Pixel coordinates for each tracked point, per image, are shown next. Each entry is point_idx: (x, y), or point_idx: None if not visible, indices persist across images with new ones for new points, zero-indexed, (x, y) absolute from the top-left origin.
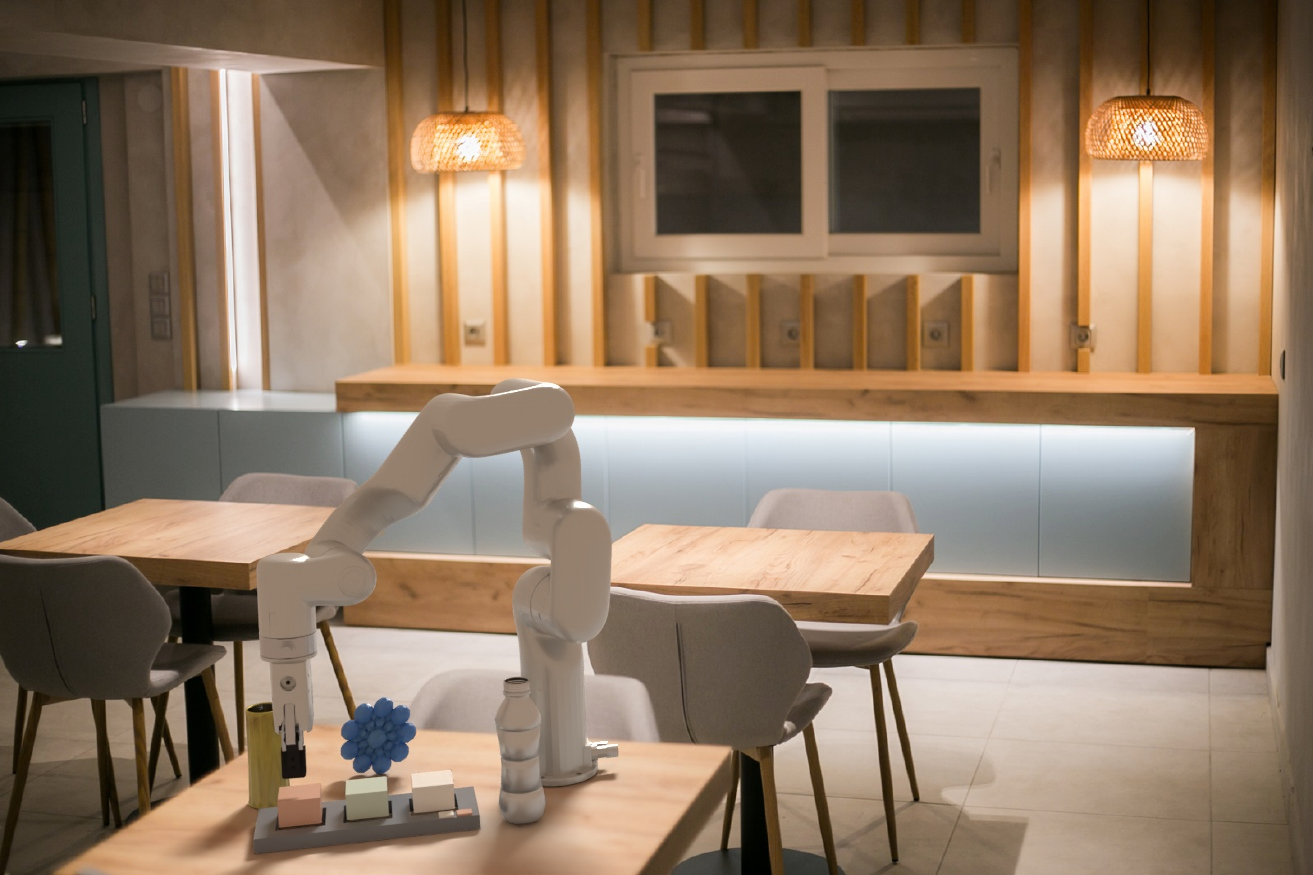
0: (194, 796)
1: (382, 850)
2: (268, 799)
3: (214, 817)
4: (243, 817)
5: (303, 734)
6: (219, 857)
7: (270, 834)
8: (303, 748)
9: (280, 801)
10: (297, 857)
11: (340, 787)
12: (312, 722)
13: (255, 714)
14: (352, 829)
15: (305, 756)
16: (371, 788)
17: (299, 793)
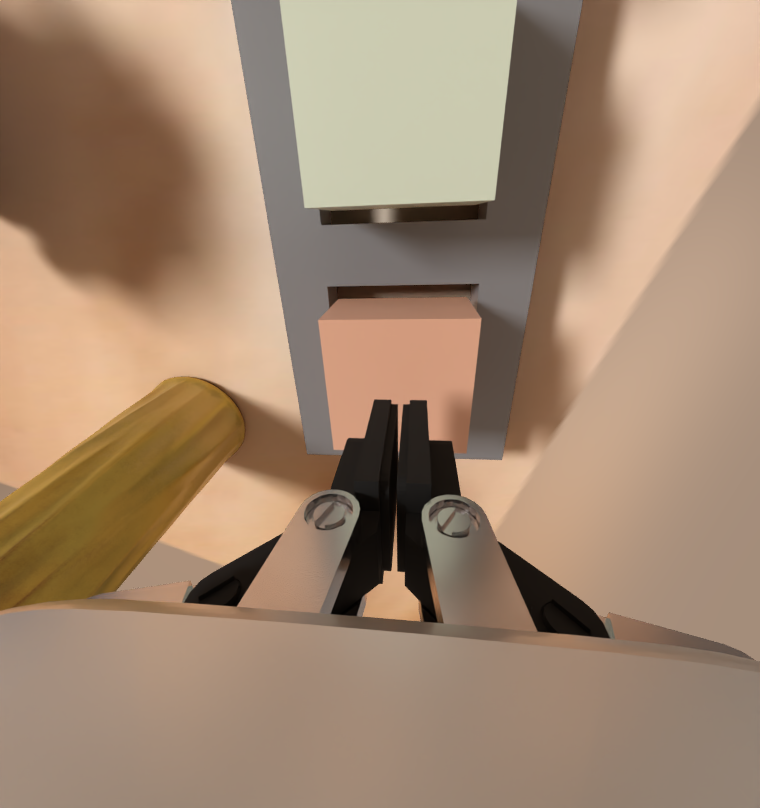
0: (174, 535)
1: (654, 53)
2: (232, 433)
3: (276, 506)
4: (282, 463)
5: (289, 536)
6: (482, 494)
7: (486, 426)
8: (416, 491)
9: (463, 445)
10: (561, 348)
11: (86, 250)
12: (665, 749)
13: None
14: (549, 179)
15: (419, 450)
16: (453, 33)
17: (410, 392)
